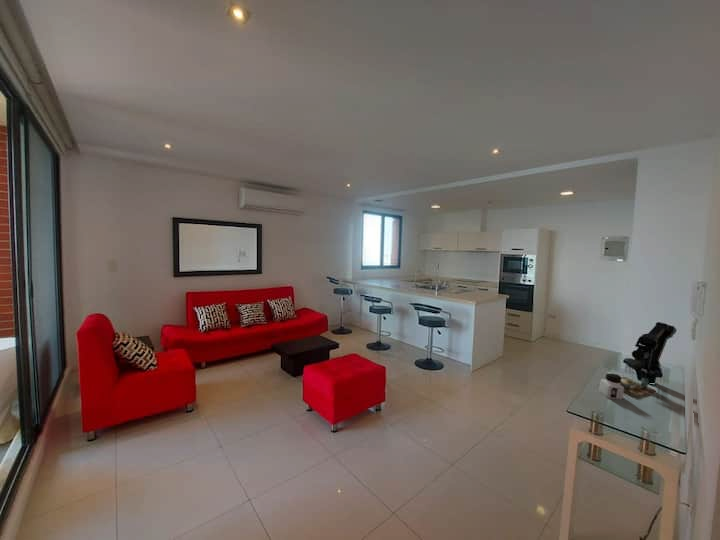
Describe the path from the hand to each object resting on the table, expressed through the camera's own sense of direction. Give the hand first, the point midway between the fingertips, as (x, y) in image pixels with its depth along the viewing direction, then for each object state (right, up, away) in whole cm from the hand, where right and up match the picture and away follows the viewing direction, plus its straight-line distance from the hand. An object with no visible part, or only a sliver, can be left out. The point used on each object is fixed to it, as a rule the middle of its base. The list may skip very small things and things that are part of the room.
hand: (639, 380), depth 178 cm
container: (-25, -6, -9) cm, 27 cm away
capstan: (-6, -3, -1) cm, 6 cm away
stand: (-6, -5, 0) cm, 8 cm away
